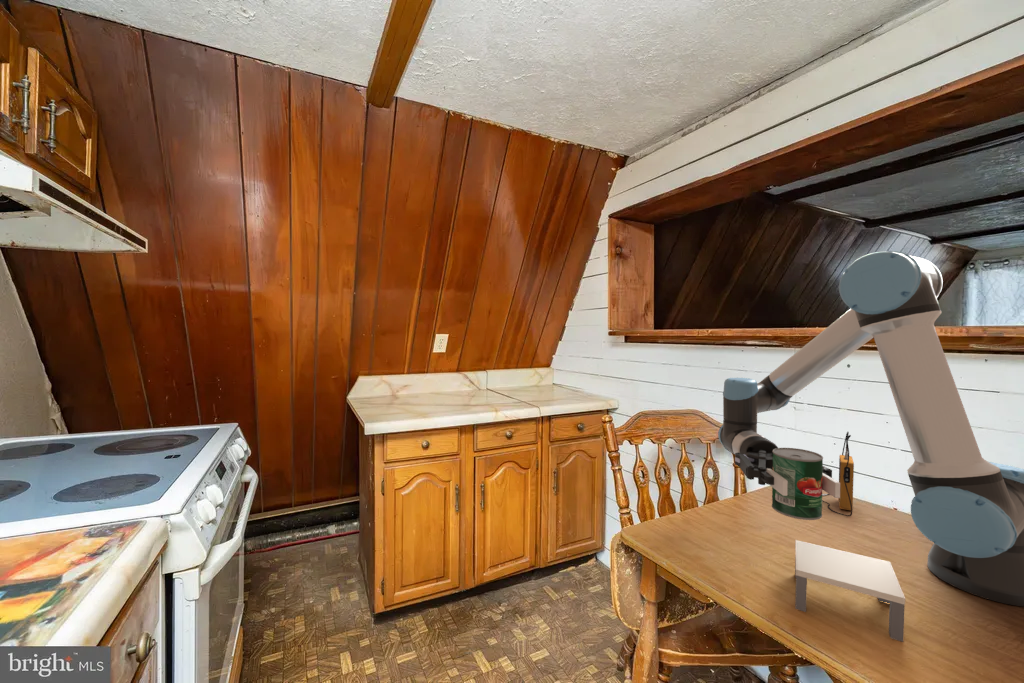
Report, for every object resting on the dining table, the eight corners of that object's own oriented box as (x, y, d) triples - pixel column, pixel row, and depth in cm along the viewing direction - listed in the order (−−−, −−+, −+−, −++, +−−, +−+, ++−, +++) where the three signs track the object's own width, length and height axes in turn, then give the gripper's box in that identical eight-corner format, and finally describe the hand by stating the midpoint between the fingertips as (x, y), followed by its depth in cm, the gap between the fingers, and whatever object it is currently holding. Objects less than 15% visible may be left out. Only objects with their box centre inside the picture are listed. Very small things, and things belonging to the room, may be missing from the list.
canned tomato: (774, 498, 85) (775, 445, 84) (823, 509, 80) (824, 452, 79) (768, 512, 79) (769, 454, 78) (820, 524, 74) (821, 462, 73)
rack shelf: (888, 599, 75) (890, 561, 75) (903, 642, 65) (905, 598, 65) (794, 574, 83) (795, 539, 83) (795, 608, 73) (796, 569, 73)
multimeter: (806, 490, 125) (808, 423, 124) (850, 498, 119) (851, 428, 118) (806, 508, 113) (807, 434, 112) (853, 517, 107) (856, 440, 106)
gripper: (804, 469, 95) (875, 513, 73) (708, 465, 98) (748, 507, 76) (805, 436, 95) (876, 470, 73) (708, 434, 98) (748, 466, 76)
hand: (811, 489), depth 74 cm, fingers closed on canned tomato, 8 cm apart
